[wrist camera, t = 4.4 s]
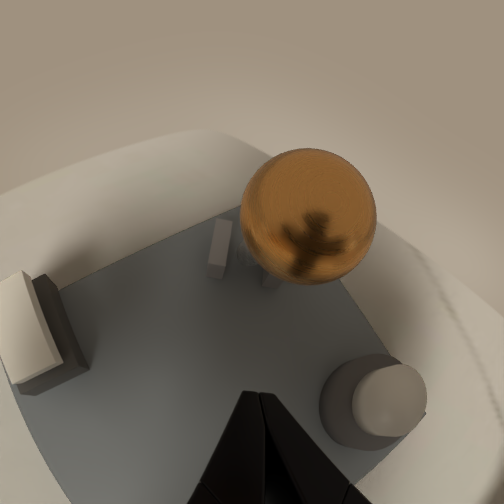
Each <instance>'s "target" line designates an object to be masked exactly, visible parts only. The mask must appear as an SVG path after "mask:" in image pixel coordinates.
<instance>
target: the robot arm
mask: <svg viewBox="0 0 504 504" xmlns="http://www.w3.org/2000/svg"><path fill="white" fill-rule="evenodd" d="M187 504H372V503H371V502H370V501H369V500H368V499H367V498H366V497H365V496H364V495H363V494H362V493H361V492H360V491H359V490H358V489H357V488H356V487H355V486H354V485H353V484H352V483H350V481H349V480H348V479H347V478H346V476H345V475H344V474H343V473H342V472H341V471H340V470H339V469H338V468H337V467H336V465H335V464H334V463H333V462H332V461H331V460H330V459H329V458H328V456H327V455H326V454H325V453H324V452H323V451H322V450H321V449H320V447H319V446H318V445H317V444H316V443H315V442H314V440H313V439H312V438H311V437H310V436H309V435H308V433H307V432H306V431H305V430H304V429H303V428H302V426H301V425H300V424H299V423H298V422H297V420H296V419H295V418H294V417H293V416H292V414H291V413H290V412H289V411H288V410H287V408H286V407H285V406H284V405H283V403H282V402H281V401H280V400H279V399H278V397H277V396H276V395H275V394H273V393H266V392H260V393H257V392H256V391H247V390H243V391H242V392H241V394H240V396H239V399H238V401H237V403H236V405H235V407H234V409H233V412H232V414H231V416H230V418H229V420H228V422H227V424H226V427H225V429H224V431H223V433H222V435H221V437H220V439H219V441H218V443H217V445H216V448H215V450H214V452H213V454H212V456H211V458H210V460H209V462H208V464H207V466H206V468H205V470H204V472H203V474H202V476H201V478H200V480H199V483H198V484H197V485H196V487H195V489H194V491H193V493H192V495H191V497H190V499H189V500H188V502H187Z"/></svg>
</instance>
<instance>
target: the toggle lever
mask: <svg viewBox="0 0 504 504" xmlns="http://www.w3.org/2000/svg"><path fill="white" fill-rule="evenodd" d="M376 216H377V215H376V206H375V201H374V198H373V195H372V192H371V190H370V188H369V185H368V184H367V182H366V181H365V179H364V177H363V176H362V175H361V173H360V172H359V171H358V170H357V169H356V168H355V167H354V166H353V165H352V164H350V163H349V162H348V161H346V160H345V159H343V158H342V157H340V156H338V155H336V154H334V153H331V152H328V151H324V150H319V149H311V148H304V149H296V150H291V151H287V152H284V153H281V154H279V155H277V156H275V157H273V158H272V159H270V160H269V161H268V162H266V163H265V164H264V165H262V166H261V167H260V168H259V169H258V170H257V172H256V173H255V174H254V175H253V177H252V178H251V180H250V181H249V183H248V185H247V187H246V189H245V192H244V194H243V198H242V202H241V208H240V225H241V232H242V235H243V238H244V240H243V241H242V243H241V244H240V245H239V246H238V248H237V251H236V256H237V259H238V261H239V262H240V263H241V264H243V265H245V266H253V265H257V264H259V265H260V266H261V267H262V268H264V269H265V270H266V271H267V272H269V273H270V274H271V275H273V276H275V277H277V278H279V279H281V280H283V281H286V282H289V283H292V284H297V285H305V286H311V285H320V284H326V283H329V282H332V281H335V280H337V279H339V278H341V277H343V276H344V275H346V274H347V273H349V272H350V271H352V270H353V269H354V268H355V267H356V266H357V265H358V264H359V263H360V261H361V260H362V259H363V258H364V256H365V255H366V253H367V252H368V250H369V248H370V246H371V243H372V241H373V237H374V234H375V229H376Z"/></svg>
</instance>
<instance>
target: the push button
mask: <svg viewBox="0 0 504 504" xmlns="http://www.w3.org/2000/svg"><path fill="white" fill-rule="evenodd" d="M426 402H427V392H426V387H425V384H424V381H423V379H422V377H421V376H420V374H419V373H418V372H417V371H416V370H415V369H413V368H412V367H410V366H407V365H403V364H397V365H393V366H389V367H385V368H381V369H377V370H374V371H371V372H370V373H368V374H367V375H365V376H364V377H363V378H362V379H361V381H360V382H359V383H358V385H357V387H356V389H355V391H354V394H353V399H352V412H353V416H354V419H355V421H356V423H357V425H358V426H359V427H360V428H361V429H362V430H363V431H364V432H366V433H368V434H371V435H377V436H389V437H398V436H402V435H405V434H407V433H409V432H410V431H411V430H413V429H414V428H415V427H416V426H417V424H418V423H419V422H420V420H421V418H422V416H423V414H424V411H425V408H426Z"/></svg>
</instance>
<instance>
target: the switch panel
mask: <svg viewBox="0 0 504 504" xmlns="http://www.w3.org/2000/svg"><path fill="white" fill-rule="evenodd" d="M240 208H241V206H239V207H236V208H234V209H232V210H229V211H227V212H225V213H222V214H220V215H218V216H215V217H213V218H211V219H209V220H206V221H204V222H202V223H199V224H197V225H195V226H193V227H190V228H188V229H186V230H184V231H182V232H179V233H177V234H175V235H173V236H170V237H168V238H166V239H164V240H162V241H160V242H157V243H155V244H153V245H151V246H149V247H147V248H144V249H142V250H140V251H138V252H136V253H134V254H132V255H130V256H128V257H125V258H123V259H121V260H119V261H117V262H115V263H113V264H111V265H109V266H107V267H105V268H103V269H101V270H99V271H97V272H95V273H93V274H91V275H89V276H87V277H85V278H83V279H81V280H79V281H77V282H75V283H73V284H71V285H69V286H67V287H65V288H63V289H61V290H59V291H58V289H57V286H56V285H55V284H54V283H53V282H52V281H51V280H50V279H49V277H48V276H47V275H46V274H43V275H41V276H39V277H37V278H35V279H33V280H32V284H33V287H34V290H35V293H36V296H37V299H38V301H39V304H40V307H41V310H42V312H43V315H44V318H45V320H46V323H47V325H48V328H49V330H50V333H51V335H52V338H53V340H54V342H55V345H56V347H57V349H58V351H59V354H60V356H61V358H62V360H63V362H64V363H62V364H60V365H58V366H56V367H54V368H52V369H50V370H48V371H46V372H44V373H42V374H40V375H38V376H36V377H34V378H32V379H30V380H28V381H26V382H24V383H20V384H12V383H11V381H10V379H9V376H8V374H7V371H6V369H5V366H4V364H3V361H2V359H1V361H2V364H3V367H4V370H5V373H6V376H7V378H8V381H9V384H10V387H11V389H12V392H13V394H14V397H15V399H16V402H17V404H18V407H19V409H20V411H21V414H22V416H23V418H24V420H25V423H26V425H27V427H28V429H29V431H30V433H31V435H32V437H33V439H34V441H35V443H36V445H37V447H38V449H39V451H40V453H41V455H42V456H43V458H44V460H45V462H46V464H47V465H48V467H49V469H50V471H51V472H52V474H53V476H54V477H55V479H56V481H57V482H58V484H59V485H60V487H61V488H62V490H63V492H64V493H65V495H66V496H67V498H68V499H69V501H70V502H71V503H72V504H187V502H188V500H189V499H190V497H191V495H192V493H193V491H194V489H195V487H196V485H197V484H198V483H199V480H200V478H201V476H202V474H203V472H204V470H205V468H206V466H207V464H208V462H209V460H210V458H211V456H212V454H213V452H214V450H215V448H216V445H217V443H218V441H219V439H220V437H221V435H222V433H223V431H224V429H225V427H226V424H227V422H228V420H229V418H230V416H231V414H232V412H233V409H234V407H235V405H236V403H237V401H238V399H239V396H240V394H241V392H242V391H243V390H247V391H256V392H257V393H260V392H266V393H273V394H275V395H276V396H277V397H278V399H279V400H280V401H281V402H282V403H283V405H284V406H285V407H286V408H287V410H288V411H289V412H290V413H291V414H292V416H293V417H294V418H295V419H296V420H297V422H298V423H299V424H300V425H301V426H302V428H303V429H304V430H305V431H306V432H307V433H308V435H309V436H310V437H311V438H312V439H313V440H314V442H315V443H316V444H317V445H318V446H319V447H320V449H321V450H322V451H323V452H324V453H325V454H326V455H327V456H328V458H329V459H330V460H331V461H332V462H333V463H334V464H335V465H336V467H337V468H338V469H339V470H340V471H341V472H342V473H343V474H344V475H345V476H346V478H347V479H348V480H349V481H350V483H352V484H353V485H354V484H356V483H357V482H358V481H359V480H360V479H362V478H363V477H364V476H365V475H366V474H367V473H368V472H370V471H371V470H372V469H373V468H374V467H375V466H376V465H377V464H378V463H379V462H381V461H382V460H383V459H384V458H385V457H386V456H387V455H388V454H389V453H390V452H391V451H392V450H393V449H394V448H395V447H396V446H397V445H398V444H399V443H400V442H401V441H402V440H403V439H404V438H405V437H406V436H407V435H408V434H409V433H410V432H411V431H410V432H409V433H407V434H405V435H402V436H398V437H389V436H377V435H371V434H368V433H366V432H364V431H363V430H362V429H361V428H360V427H359V426H358V425H357V423H356V421H355V419H354V416H353V412H352V399H353V394H354V391H355V389H356V387H357V385H358V383H359V382H360V381H361V379H362V378H363V377H364V376H365V375H367V374H368V373H370V372H371V371H374V370H377V369H381V368H385V367H389V366H393V365H397V364H402V363H401V362H400V361H398V360H397V359H395V358H394V357H391V356H390V354H389V353H388V351H387V350H386V348H385V346H384V345H383V343H382V342H381V340H380V339H379V337H378V336H377V334H376V333H375V331H374V330H373V328H372V327H371V325H370V324H369V322H368V321H367V319H366V318H365V316H364V315H363V313H362V312H361V310H360V309H359V307H358V306H357V305H356V303H355V302H354V300H353V299H352V297H351V296H350V294H349V293H348V291H347V290H346V289H345V287H344V286H343V284H342V283H341V281H340V280H339V279H337V280H335V281H332V282H329V283H326V284H320V285H311V286H305V285H297V284H292V283H289V282H286V281H283V280H281V279H279V278H277V277H275V276H273V275H271V274H270V273H269V272H267V271H266V270H265V269H264V268H262V267H261V266H260V265H259V264H257V265H253V266H245V265H243V264H241V263H240V262H239V261H238V259H237V256H236V251H237V248H238V246H239V245H240V244H241V243H242V241H243V240H244V238H243V235H242V232H241V225H240ZM0 358H1V356H0ZM425 415H426V412H425V411H424V414H423V416H422V418H423V417H424V416H425ZM422 418H421V419H422ZM420 421H421V420H420Z"/></svg>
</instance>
